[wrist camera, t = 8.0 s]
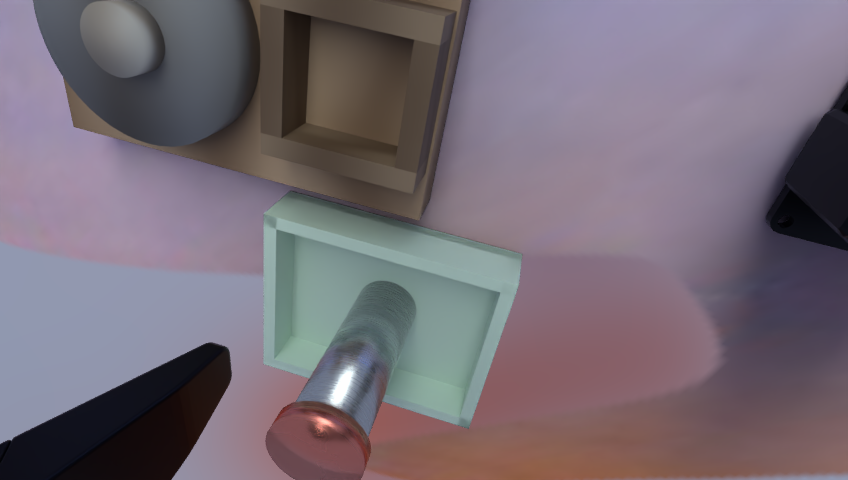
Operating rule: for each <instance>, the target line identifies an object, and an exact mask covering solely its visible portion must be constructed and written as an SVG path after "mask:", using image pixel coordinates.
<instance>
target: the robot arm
mask: <svg viewBox="0 0 848 480" xmlns="http://www.w3.org/2000/svg"><path fill="white" fill-rule="evenodd" d="M785 181H786V183H787V184H786V185H785V187H784V188H783V190H782V192H781V193H780V195H779V196H778V198H777V200H776V201H775V203H774V204H773V206H772V208H771V209H770V211H769V212H768V214H767V217H766V221H767V224H768V225H769V226H770V227H771V228H772V230H773V231H775V232H777V233H780V234H784V235H788V236H792V237H796V238H800V239H804V240H807V241H811V242H815V243H819V244H823V245H827V246H831V247H835V248H839V249H843V250H847V251H848V87H847V88H846V90H845V91H844V93H843V95H842V96H841V98H840V99H839V101H838V103H837V104H836V106H835V107H834V109H833V110H832V111H830V112H828V113H827V114H825V115H824V116H823V118H822V120H821V121H820V123H819V124H818V126H817V128H816V129H815V131H814V132H813V134H812V136H811V137H810V139H809V140H808V142H807V144H806V145H805V147H804V148H803V150H802V152H801V153H800V155H799V156H798V158H797V160H796V161H795V163H794V164H793V166H792V168H791V169H790V171H789V173H788V174H787V176H786V178H785ZM783 216H789V219H788V220H787V221H786V222H783V223H778V220H779V219H780V218H781V217H783ZM231 376H232V372H231V362H230V352H229V350H228V348H227V347H225V346H222V345H219V344H216V343H206V344H203V345H201V346H199V347H197V348H195V349H193V350H191V351H189V352H187V353H185V354H183V355H181V356H179V357H177V358H175V359H173V360H171V361H169V362H167V363H165V364H163V365H161V366H159V367H156V368H154V369H152V370H150V371H148V372H146V373H144V374H142V375H140V376H138V377H136V378H134V379H132V380H130V381H128V382H126V383H124V384H122V385H120V386H118V387H116V388H114V389H112V390H110V391H107V392H106V393H104V394H102V395H99V396H97V397H95V398H93V399H91V400H89V401H87V402H85V403H83V404H81V405H79V406H77V407H75V408H73V409H71V410H69V411H67V412H65V413H63V414H61V415H59V416H57V417H54V418H52V419H50V420H48V421H46V422H44V423H42V424H40V425H38V426H36V427H34V428H32V429H30V430H28V431H26V432H24V433H22V434H20V435H18V436H16V437H14V438H13V439H12V441H11V440H7V441H5V442H3V443H1V444H0V480H171V479H172V478H173V477H174V475H175V473H176V472H177V471H178V469H179V468H180V467H181V465H182V464H183V462H184V461H185V459H186V458H187V457H188V455H189V454H190V452H191V450H192V449H193V447H194V445H195V444H196V442H197V440H198V439H199V437H200V435H201V433H202V432H203V430H204V428H205V426H206V425H207V423H208V421H209V419H210V417H211V416H212V414H213V412H214V410H215V409H216V407H217V405H218V403H219V402H220V400H221V398H222V396H223V395H224V393H225V391H226V389H227V388H228V386H229V383H230V381H231Z"/></svg>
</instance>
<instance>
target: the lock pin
mask: <svg viewBox="0 0 848 480" xmlns="http://www.w3.org/2000/svg"><path fill="white" fill-rule="evenodd" d="M415 316H416V304H415V301H414V299H413V298H412V296H411V295H410V293H409V292H408V291H407V290H406V289H404V288H403V287H401V286H400V285H398V284H396V283H393V282H389V281H375V282H371V283H369V284H367V285H366V286H365V287H364V288H363V289H362V290H361V292H360V294H359V295H358V297H357V299H356V300H355V302H354V304H353V306H352V307H351V309H350V311H349V312H348V314H347V316H346V317H345V319H344V321H343V323H342V324H341V326H340V328H339V329H338V331H337V333H336V334H335V336H334V338H333V339H332V341H331V343H330V345H329V346H328V348H327V350H326V351H325V353H324V355H323V356H322V358H321V360H320V361H319V363H318V365H317V367H316V368H315V370H314V372H313V373H312V375H311V377H310V378H309V380H308V382H307V383H306V385H305V387H304V389H303V390H302V392H301V394H300V395H299V397H298V399H297V400H296V402H294V403H291V404H289V405H287V406H286V407H284V408H283V409H282V410H281V411H280V413H279V414H278V416H277V418H276V419H275V421H274V423H273V424H272V426H271V427H270V429H269V431H268V432H267V435H266V447H267V450H268V453H269V455H270V456H271V458H272V460H273V461H274V462H275V463H276V465H277V466H278V467H279V468H280V469H281V470H283V471H284V472H285V473H286V474H288V475H289V476H290V477H292V478H293V479H295V480H361V478H362V476H363V473H364V470H365V467H366V465H367V462H368V459H369V457H370V453H371V444H370V441H369V438H368V436H369V434H370V431H371V429H372V426H373V423H374V420H375V418H376V416H377V413H378V411H379V408H380V406H381V403H382V400H383V398H384V395H385V393H386V390H387V388H388V385H389V382H390V380H391V377H392V375H393V372H394V370H395V367H396V365H397V362H398V359H399V357H400V354H401V352H402V349H403V347H404V344H405V342H406V339H407V336H408V334H409V331H410V329H411V326H412V324H413V321H414V318H415Z"/></svg>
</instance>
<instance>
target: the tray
mask: <svg viewBox="0 0 848 480" xmlns="http://www.w3.org/2000/svg"><path fill="white" fill-rule="evenodd" d="M521 261H522V254H520V253H516V252H513V251H509V250H505V249H502V248H498V247H494V246H491V245H487V244H483V243H480V242H476V241H472V240H469V239H465V238H461V237H458V236H454V235H451V234H447V233H443V232H440V231H436V230H432V229H429V228H425V227H421V226H418V225H414V224H410V223H407V222H403V221H399V220H396V219H392V218H388V217H385V216H381V215H377V214H374V213H370V212H366V211H363V210H359V209H355V208H352V207H348V206H344V205H341V204H337V203H333V202H330V201H326V200H322V199H319V198H315V197H311V196H308V195H304V194H300V193H297V192H293V191H290V192H288V193H287V194H286V195H285V196H284V197H283V198H281V199H280V200H279V201H278V202H277V203H276V204H274V205H273V206H272V207H271V208H270V209H269V210H267V211H266V212H265V213H264V364H265V365H268V366H271V367H274V368H278V369H281V370H284V371H287V372H290V373H294V374H297V375H300V376H303V377H306V378H310V377H311V375H312V373H313V372H314V370H315V368H316V367H317V365H318V363H319V361H320V360H321V358H322V356H323V355H324V353H325V351H326V350H327V348H328V346H329V345H330V343H331V341H332V339H333V338H334V336H335V334H336V333H337V331H338V329H339V328H340V326H341V324H342V323H343V321H344V319H345V317H346V316H347V314H348V312H349V311H350V309H351V307H352V306H353V304H354V302H355V300H356V299H357V297H358V295H359V294H360V292H361V290H362V289H363V288H364V287H365V286H366V285H367V284H369V283H371V282H375V281H389V282H393V283H396V284H398V285H400V286H401V287H403V288H404V289H406V290H407V291H408V292H409V293H410V295H411V296H412V298H413V299H414V301H415V304H416V316H415V318H414V321H413V324H412V326H411V329H410V331H409V334H408V336H407V339H406V342H405V344H404V347H403V349H402V352H401V354H400V357H399V359H398V362H397V365H396V367H395V370H394V372H393V375H392V377H391V380H390V382H389V385H388V388H387V390H386V393H385V395H384V398H383V400H382V402H385V403H388V404H392V405H395V406H398V407H401V408H404V409H408V410H411V411H414V412H417V413H420V414H423V415H426V416H430V417H433V418H436V419H439V420H442V421H445V422H449V423H452V424H455V425H458V426H461V427H464V428H468V429H469V426H470V424H471V420H472V418H473V415H474V412H475V409H476V406H477V404H478V401H479V398H480V395H481V392H482V389H483V386H484V383H485V380H486V378H487V375H488V372H489V369H490V366H491V363H492V361H493V358H494V355H495V352H496V349H497V346H498V344H499V340H500V338H501V335H502V332H503V329H504V326H505V324H506V321H507V318H508V315H509V312H510V309H511V306H512V303H513V301H514V298H515V295H516V292H517V289H518V286H519V279H520V270H521Z"/></svg>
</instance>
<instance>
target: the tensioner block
mask: <svg viewBox="0 0 848 480" xmlns="http://www.w3.org/2000/svg"><path fill="white" fill-rule="evenodd" d="M33 3H34V9H35V14H36V18H37V21H38V25H39V28H40V31H41V34H42V36H43V39H44V42H45V44H46V46H47V48H48V51H49V53H50V55H51V57H52V59H53V61H54V62H55V64H56V66H57V68H58V69H59V71H60V73H61V74H62V76H63V79H64V83H65V88H66V93H67V97H68V102H69V107H70V111H71V116H72V121H73V125H74V127H76V128H80V129H84V130H87V131H91V132H95V133H98V134H102V135H106V136H109V137H113V138H117V139H120V140H124V141H128V142H131V143H135V144H139V145H142V146H146V147H150V148H154V149H157V150H161V151H165V152H168V153H172V154H176V155H179V156H183V157H187V158H190V159H194V160H198V161H201V162H205V163H209V164H212V165H216V166H220V167H223V168H227V169H231V170H234V171H238V172H242V173H246V174H249V175H253V176H257V177H260V178H264V179H268V180H271V181H275V182H279V183H282V184H286V185H290V186H293V187H297V188H301V189H304V190H308V191H312V192H315V193H319V194H323V195H326V196H330V197H334V198H337V199H341V200H345V201H349V202H352V203H356V204H360V205H363V206H367V207H371V208H374V209H378V210H382V211H385V212H389V213H393V214H396V215H400V216H404V217H407V218H411V219H415V220H418V221H419V220H420V218H421V216H422V214H423V212H424V210H425V208H426V206H427V204H428V202H429V200H430V196H431V191H432V186H433V181H434V176H435V171H436V166H437V161H438V156H439V151H440V147H441V142H442V137H443V132H444V127H445V122H446V117H447V112H448V107H449V102H450V98H451V93H452V88H453V83H454V78H455V73H456V68H457V63H458V58H459V53H460V49H461V44H462V39H463V34H464V29H465V24H466V19H467V14H468V9H469V4H470V0H33Z"/></svg>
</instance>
